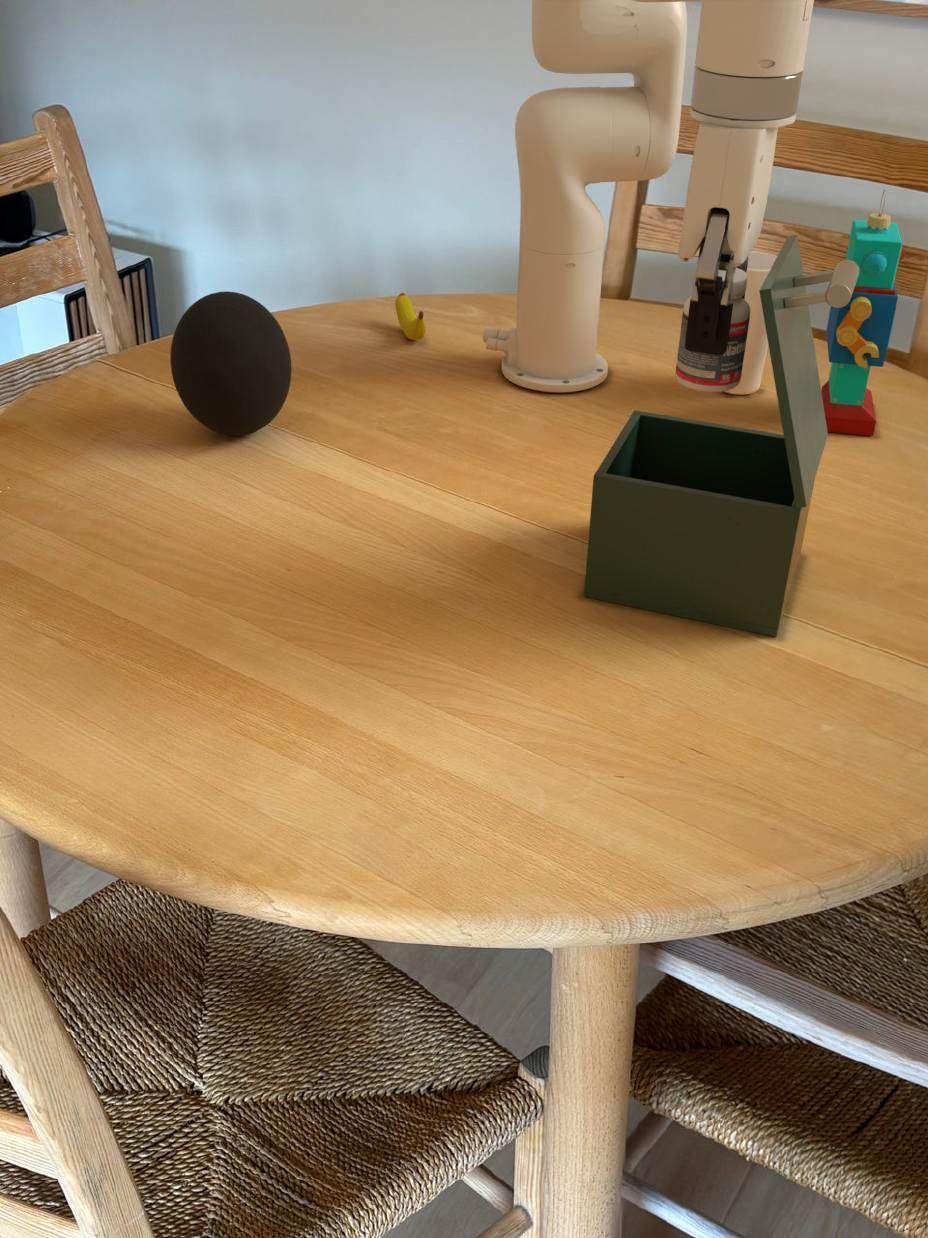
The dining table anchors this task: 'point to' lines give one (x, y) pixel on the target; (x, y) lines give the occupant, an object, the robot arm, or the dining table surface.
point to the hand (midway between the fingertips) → (713, 335)
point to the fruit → (409, 318)
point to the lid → (800, 356)
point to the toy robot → (862, 325)
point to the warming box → (695, 523)
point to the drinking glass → (754, 324)
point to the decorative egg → (230, 363)
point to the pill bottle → (711, 368)
